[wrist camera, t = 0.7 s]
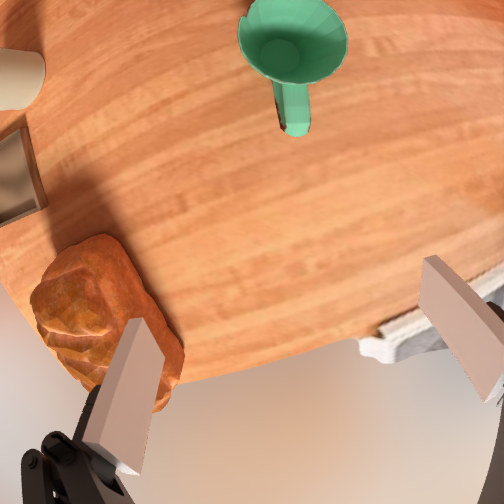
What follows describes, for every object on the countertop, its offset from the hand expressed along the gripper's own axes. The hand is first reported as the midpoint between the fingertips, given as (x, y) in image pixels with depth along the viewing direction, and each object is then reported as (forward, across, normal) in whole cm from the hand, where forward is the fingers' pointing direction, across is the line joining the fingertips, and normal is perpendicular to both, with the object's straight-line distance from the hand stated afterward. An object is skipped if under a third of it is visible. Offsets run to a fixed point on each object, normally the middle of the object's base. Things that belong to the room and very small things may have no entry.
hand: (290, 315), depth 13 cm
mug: (+26, +6, +13) cm, 29 cm away
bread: (+26, -25, -15) cm, 39 cm away
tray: (+26, -36, +12) cm, 46 cm away
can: (+26, -29, +26) cm, 47 cm away
